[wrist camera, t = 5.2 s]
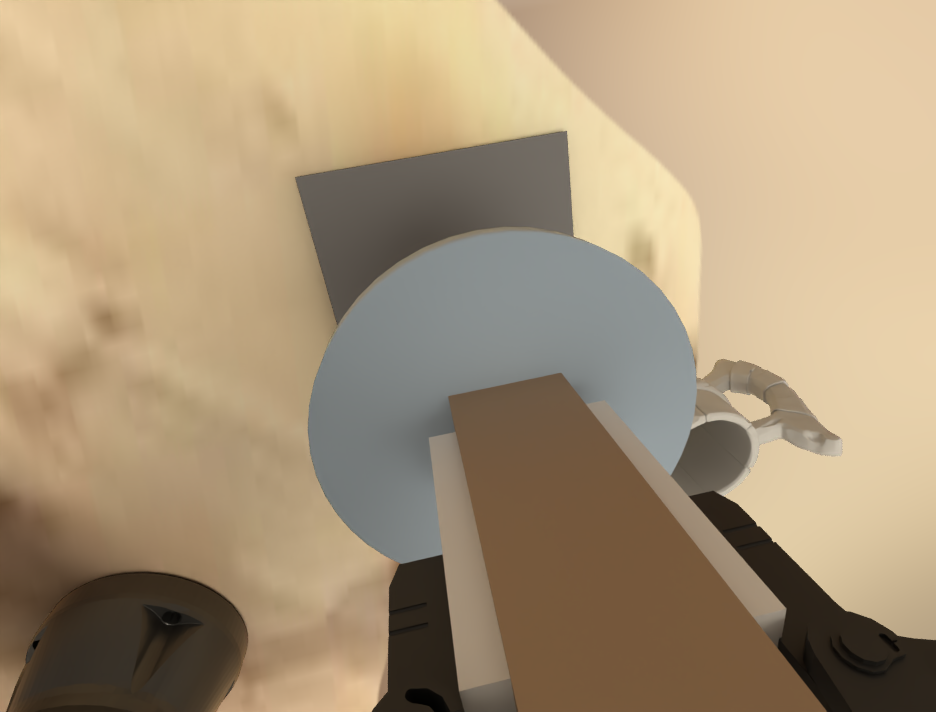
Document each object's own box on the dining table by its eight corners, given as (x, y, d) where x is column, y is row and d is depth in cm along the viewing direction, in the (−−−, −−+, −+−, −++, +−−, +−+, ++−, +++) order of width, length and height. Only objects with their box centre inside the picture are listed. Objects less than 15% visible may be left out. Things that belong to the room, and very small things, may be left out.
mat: (364, 412, 34) (363, 416, 33) (297, 176, 27) (295, 177, 27) (579, 368, 35) (581, 372, 34) (563, 131, 28) (566, 131, 28)
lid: (366, 584, 17) (326, 1187, 7) (259, 269, 13) (-314, 726, 2) (672, 513, 18) (1025, 962, 8) (680, 192, 13) (1579, 289, 3)
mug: (572, 358, 34) (654, 452, 23) (726, 306, 34) (879, 375, 23) (592, 441, 37) (671, 558, 26) (732, 393, 37) (870, 490, 26)
